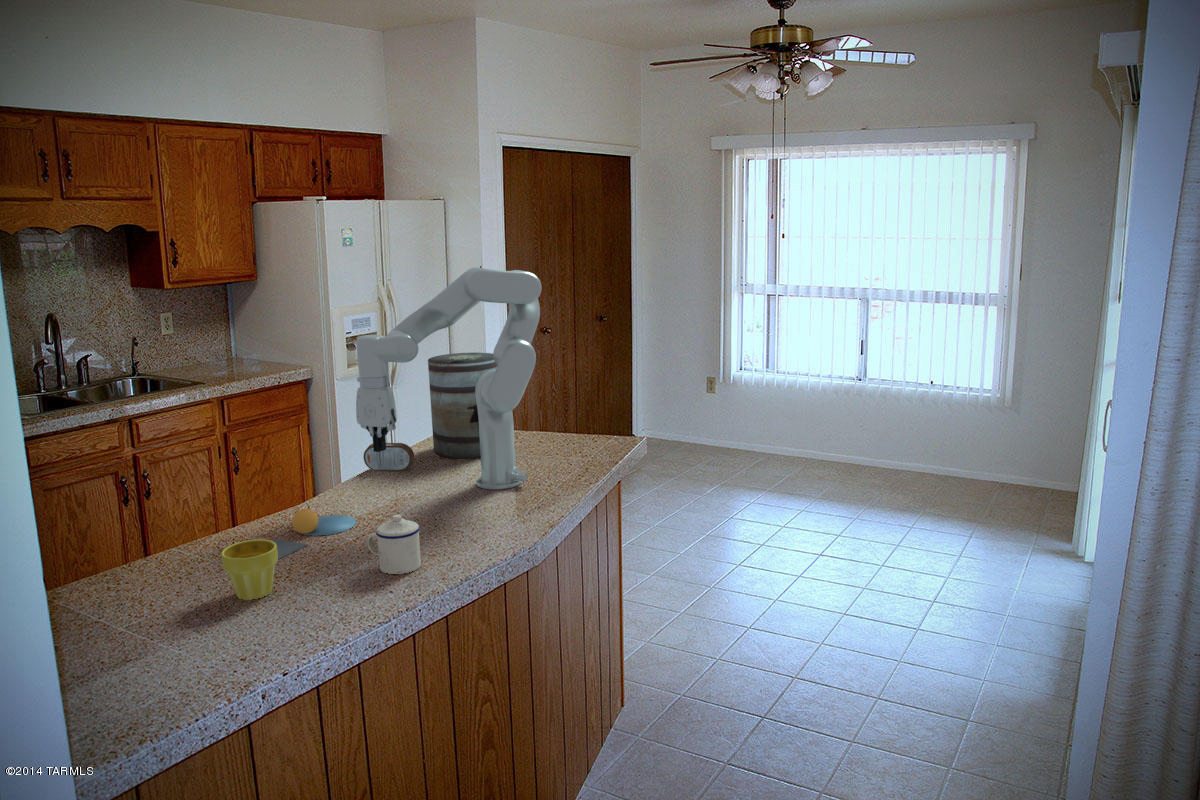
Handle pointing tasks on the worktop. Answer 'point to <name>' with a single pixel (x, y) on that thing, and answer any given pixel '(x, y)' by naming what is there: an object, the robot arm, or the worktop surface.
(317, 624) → the worktop surface
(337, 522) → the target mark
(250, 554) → the plant pot
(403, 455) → the tin
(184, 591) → the worktop surface
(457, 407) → the barrel
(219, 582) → the worktop surface
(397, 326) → the robot arm
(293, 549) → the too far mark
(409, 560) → the teacup with lid
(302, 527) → the ball
